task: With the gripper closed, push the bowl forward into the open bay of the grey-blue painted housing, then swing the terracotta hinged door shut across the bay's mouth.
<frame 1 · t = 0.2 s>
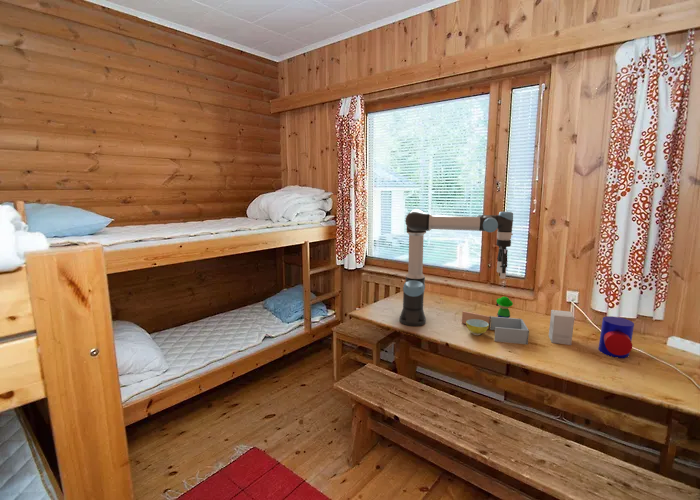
hand: (500, 275, 206), 28 cm above the table, fingers open, 13 cm apart
housing: (506, 336, 190), on the table
door: (476, 319, 203), point 4 cm above the table, hinge at 110.0°
toy: (502, 321, 211), on the table
bowl: (476, 333, 194), on the table
supplement box: (559, 340, 185), on the table
cylinder: (613, 352, 173), on the table
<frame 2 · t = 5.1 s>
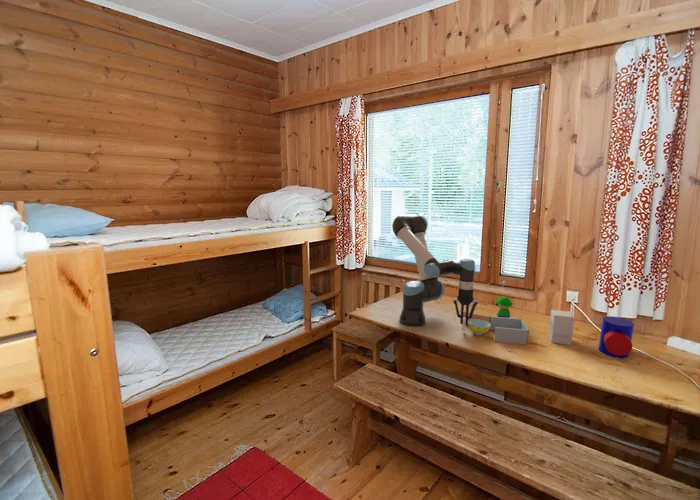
hand: (463, 329, 194), 2 cm above the table, fingers closed
bowl: (478, 334, 193), on the table, touching gripper
everything else where it was.
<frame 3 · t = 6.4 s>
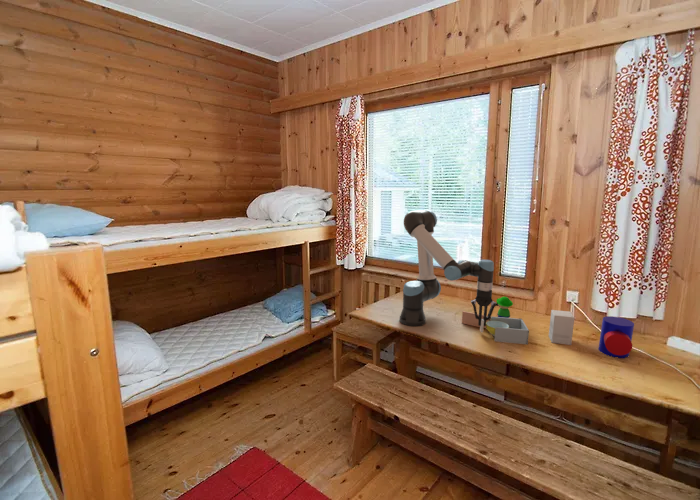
hand: (481, 331, 192), 2 cm above the table, fingers closed
bowl: (496, 335, 191), on the table, touching gripper
everything else where it was.
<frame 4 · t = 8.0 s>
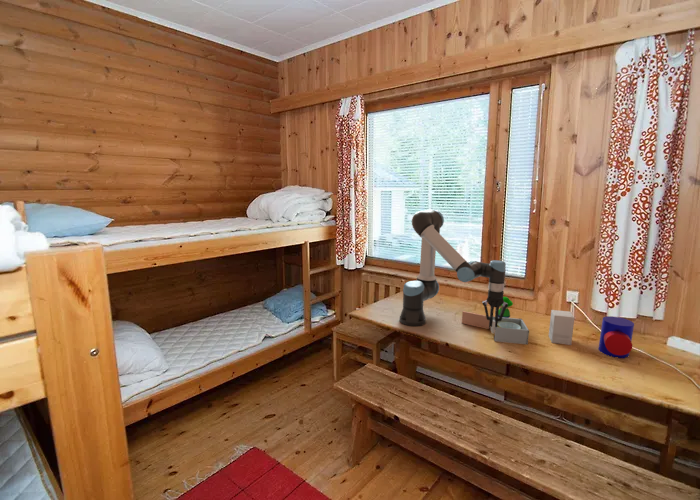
hand: (492, 332, 191), 2 cm above the table, fingers closed
bowl: (507, 336, 190), on the table, touching gripper
everything else where it was.
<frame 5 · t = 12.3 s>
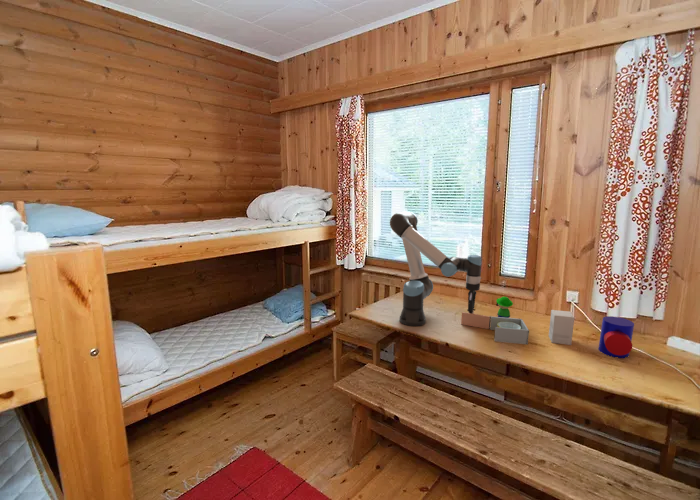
hand: (470, 321, 207), 1 cm above the table, fingers closed
door: (475, 320, 202), point 4 cm above the table, hinge at 103.6°, touching gripper
bowl: (508, 336, 190), on the table
everything else where it was.
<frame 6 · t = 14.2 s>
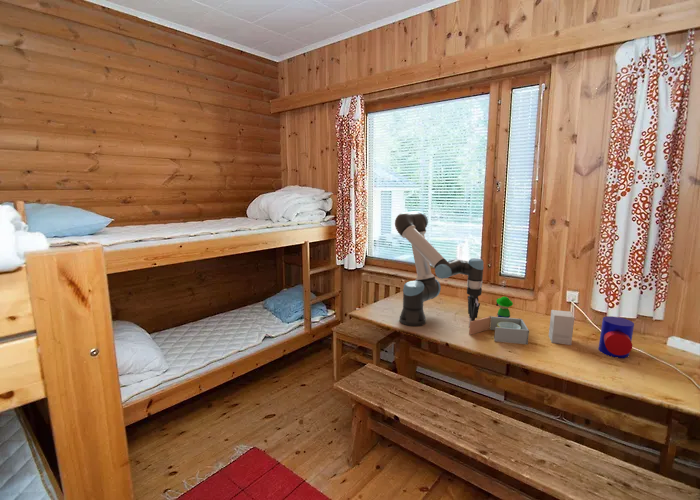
hand: (471, 328, 197), 1 cm above the table, fingers closed
door: (479, 324, 196), point 4 cm above the table, hinge at 48.3°, touching gripper
everything else where it was.
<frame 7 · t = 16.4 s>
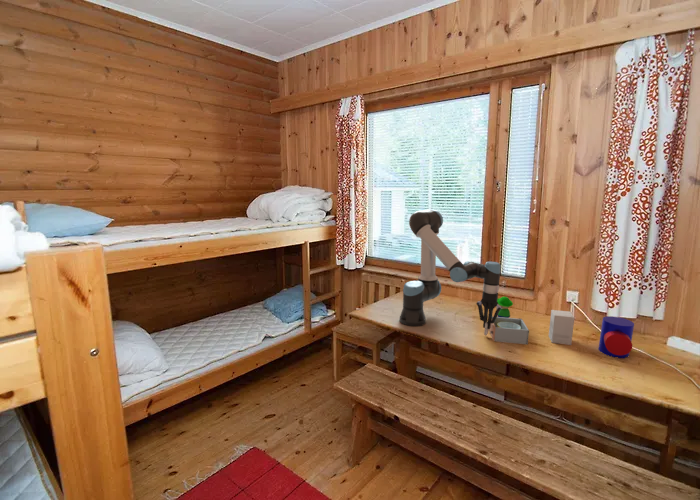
hand: (486, 334, 190), 1 cm above the table, fingers closed
door: (490, 327, 192), point 4 cm above the table, hinge at -0.4°, touching gripper, housing
everything else where it was.
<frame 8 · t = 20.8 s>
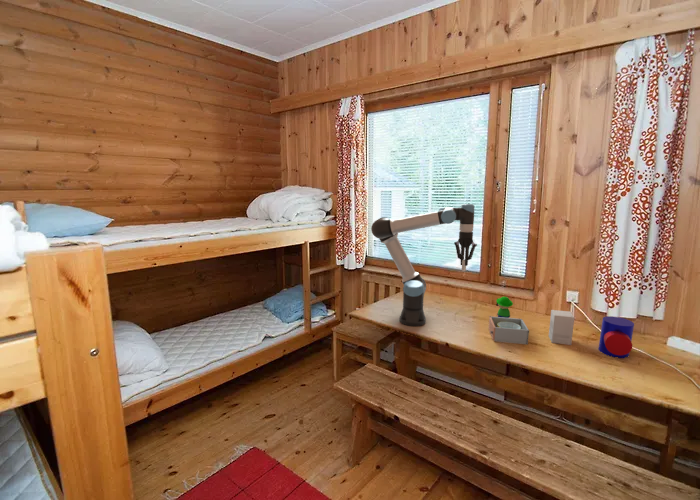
hand: (463, 270, 209), 29 cm above the table, fingers closed
door: (490, 327, 192), point 4 cm above the table, hinge at -0.4°, touching housing
everything else where it was.
at the end: bowl inside the target area (0.1 cm from its centre), on the table; door at +0° (first picture: +110°); bowl tilted 0° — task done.
